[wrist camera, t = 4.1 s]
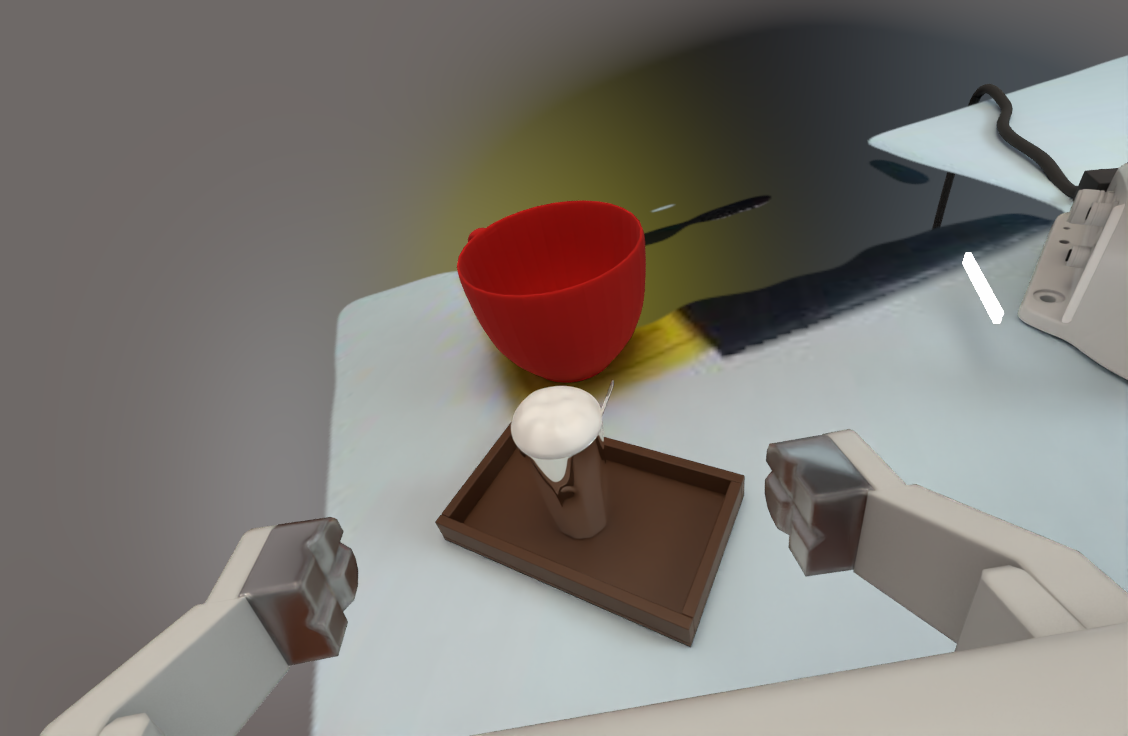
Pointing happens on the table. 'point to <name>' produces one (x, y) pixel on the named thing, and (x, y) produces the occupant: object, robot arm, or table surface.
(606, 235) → the ceramic cup
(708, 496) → the tray
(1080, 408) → the table surface
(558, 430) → the milkshake
